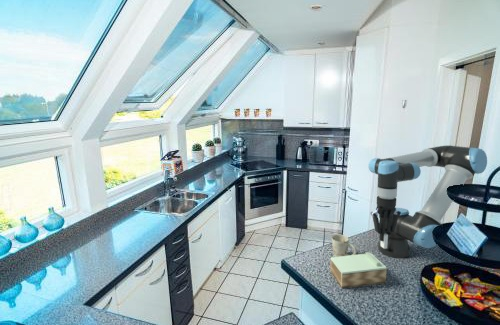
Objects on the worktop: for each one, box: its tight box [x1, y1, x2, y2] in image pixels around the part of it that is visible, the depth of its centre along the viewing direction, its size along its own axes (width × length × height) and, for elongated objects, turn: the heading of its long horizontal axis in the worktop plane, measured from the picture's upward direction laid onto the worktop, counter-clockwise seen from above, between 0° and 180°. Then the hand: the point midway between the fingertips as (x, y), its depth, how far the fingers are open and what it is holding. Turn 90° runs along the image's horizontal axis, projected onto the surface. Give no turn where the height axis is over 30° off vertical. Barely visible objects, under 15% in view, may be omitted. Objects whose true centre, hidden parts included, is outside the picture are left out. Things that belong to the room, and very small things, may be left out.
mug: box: [331, 234, 357, 257], centre depth 135 cm, size 8×13×10 cm, turn 51°
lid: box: [330, 251, 388, 274], centre depth 118 cm, size 20×12×2 cm, turn 96°
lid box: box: [329, 259, 387, 289], centre depth 119 cm, size 20×12×6 cm, turn 96°
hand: (383, 246), depth 118 cm, fingers closed
